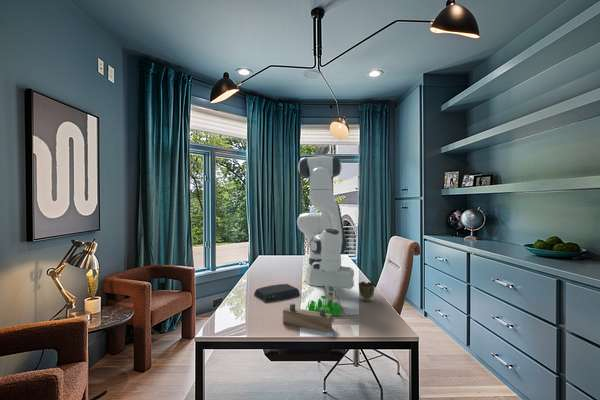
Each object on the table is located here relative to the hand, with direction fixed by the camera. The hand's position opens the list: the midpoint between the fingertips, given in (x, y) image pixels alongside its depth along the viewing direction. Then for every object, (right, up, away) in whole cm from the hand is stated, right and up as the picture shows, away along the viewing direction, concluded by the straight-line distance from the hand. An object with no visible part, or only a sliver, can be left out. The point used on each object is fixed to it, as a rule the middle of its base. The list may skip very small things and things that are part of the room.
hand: (331, 295), depth 141 cm
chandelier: (-4, -4, -12) cm, 13 cm away
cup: (+17, -4, +4) cm, 18 cm away
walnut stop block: (-11, -3, -25) cm, 28 cm away
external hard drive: (-25, -4, +10) cm, 27 cm away
